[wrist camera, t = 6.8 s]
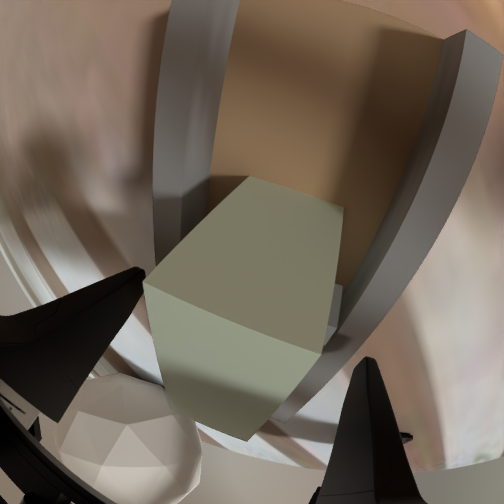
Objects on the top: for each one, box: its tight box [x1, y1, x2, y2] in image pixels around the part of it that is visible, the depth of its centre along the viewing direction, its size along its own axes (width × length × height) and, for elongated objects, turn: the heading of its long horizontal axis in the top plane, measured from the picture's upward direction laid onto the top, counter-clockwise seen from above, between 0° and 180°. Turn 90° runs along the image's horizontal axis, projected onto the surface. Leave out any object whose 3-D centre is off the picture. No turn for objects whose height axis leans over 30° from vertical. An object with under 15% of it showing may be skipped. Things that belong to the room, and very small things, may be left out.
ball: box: [54, 373, 202, 504], centre depth 24 cm, size 19×20×20 cm
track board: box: [153, 0, 503, 422], centre depth 11 cm, size 22×11×3 cm, turn 169°
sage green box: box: [143, 176, 344, 442], centre depth 9 cm, size 8×4×6 cm, turn 170°
